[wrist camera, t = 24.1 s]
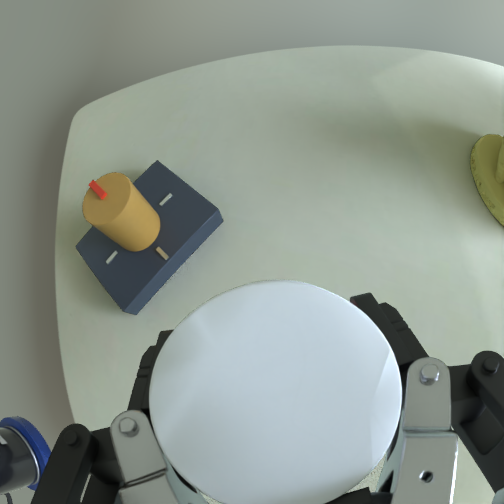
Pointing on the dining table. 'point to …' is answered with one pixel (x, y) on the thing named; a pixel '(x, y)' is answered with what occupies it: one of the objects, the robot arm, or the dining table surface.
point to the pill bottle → (275, 395)
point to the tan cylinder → (121, 212)
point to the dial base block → (161, 250)
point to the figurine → (490, 172)
